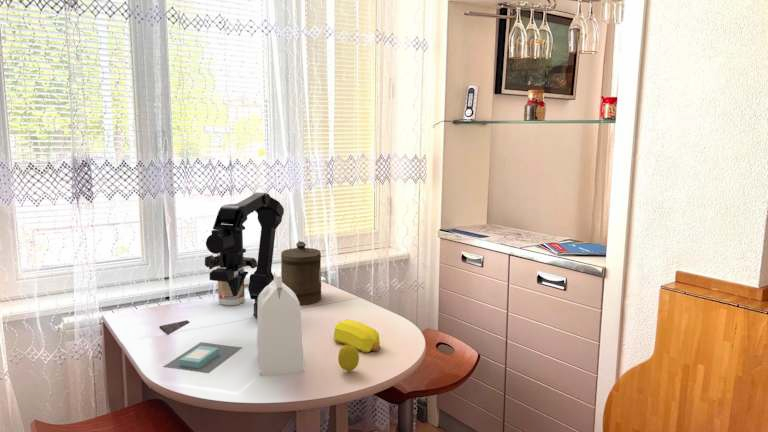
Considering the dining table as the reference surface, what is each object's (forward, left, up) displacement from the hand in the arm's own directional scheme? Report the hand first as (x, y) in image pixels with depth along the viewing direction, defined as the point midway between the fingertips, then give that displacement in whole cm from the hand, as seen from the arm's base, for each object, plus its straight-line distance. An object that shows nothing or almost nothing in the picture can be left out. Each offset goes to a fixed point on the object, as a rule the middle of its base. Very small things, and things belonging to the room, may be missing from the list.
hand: (235, 295), depth 180 cm
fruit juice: (-11, -33, -13) cm, 37 cm away
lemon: (-15, +42, -13) cm, 46 cm away
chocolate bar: (+13, -12, -14) cm, 22 cm away
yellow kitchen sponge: (-27, +27, -13) cm, 41 cm away
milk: (-2, +27, -13) cm, 30 cm away
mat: (+14, +11, -13) cm, 22 cm away
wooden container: (-34, -22, -13) cm, 43 cm away
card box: (+12, +10, -12) cm, 19 cm away
